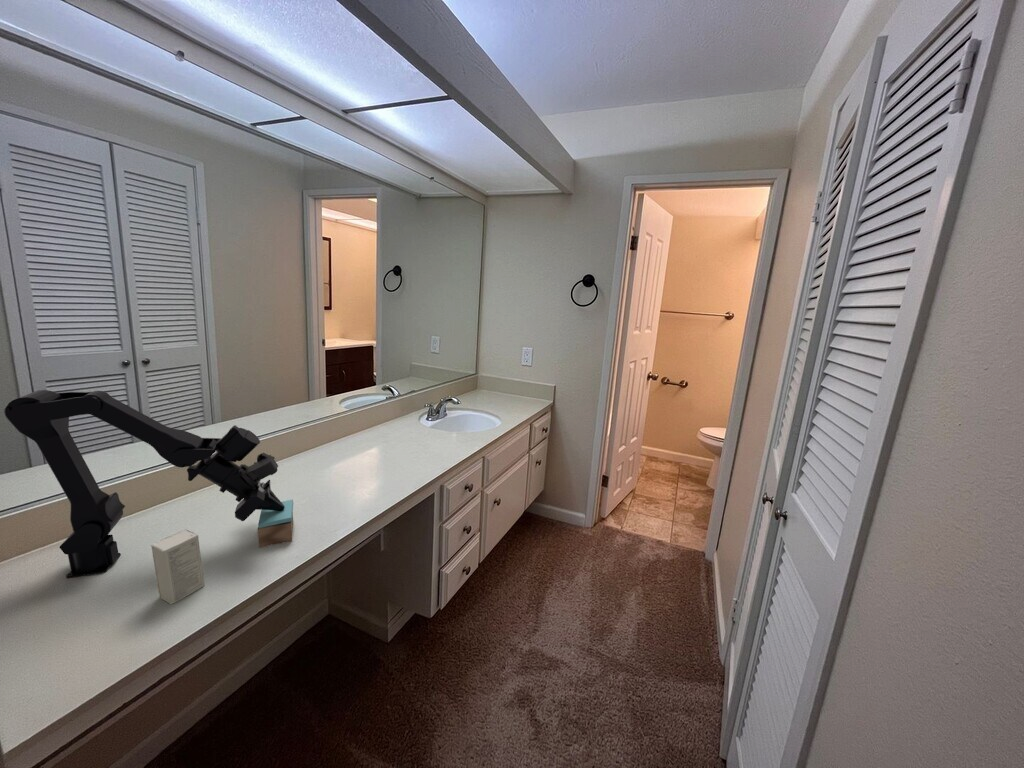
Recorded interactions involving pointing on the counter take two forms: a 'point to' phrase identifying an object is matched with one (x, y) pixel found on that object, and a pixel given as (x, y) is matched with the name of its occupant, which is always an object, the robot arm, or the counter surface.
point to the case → (275, 534)
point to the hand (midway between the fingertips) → (283, 508)
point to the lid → (276, 515)
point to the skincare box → (178, 565)
